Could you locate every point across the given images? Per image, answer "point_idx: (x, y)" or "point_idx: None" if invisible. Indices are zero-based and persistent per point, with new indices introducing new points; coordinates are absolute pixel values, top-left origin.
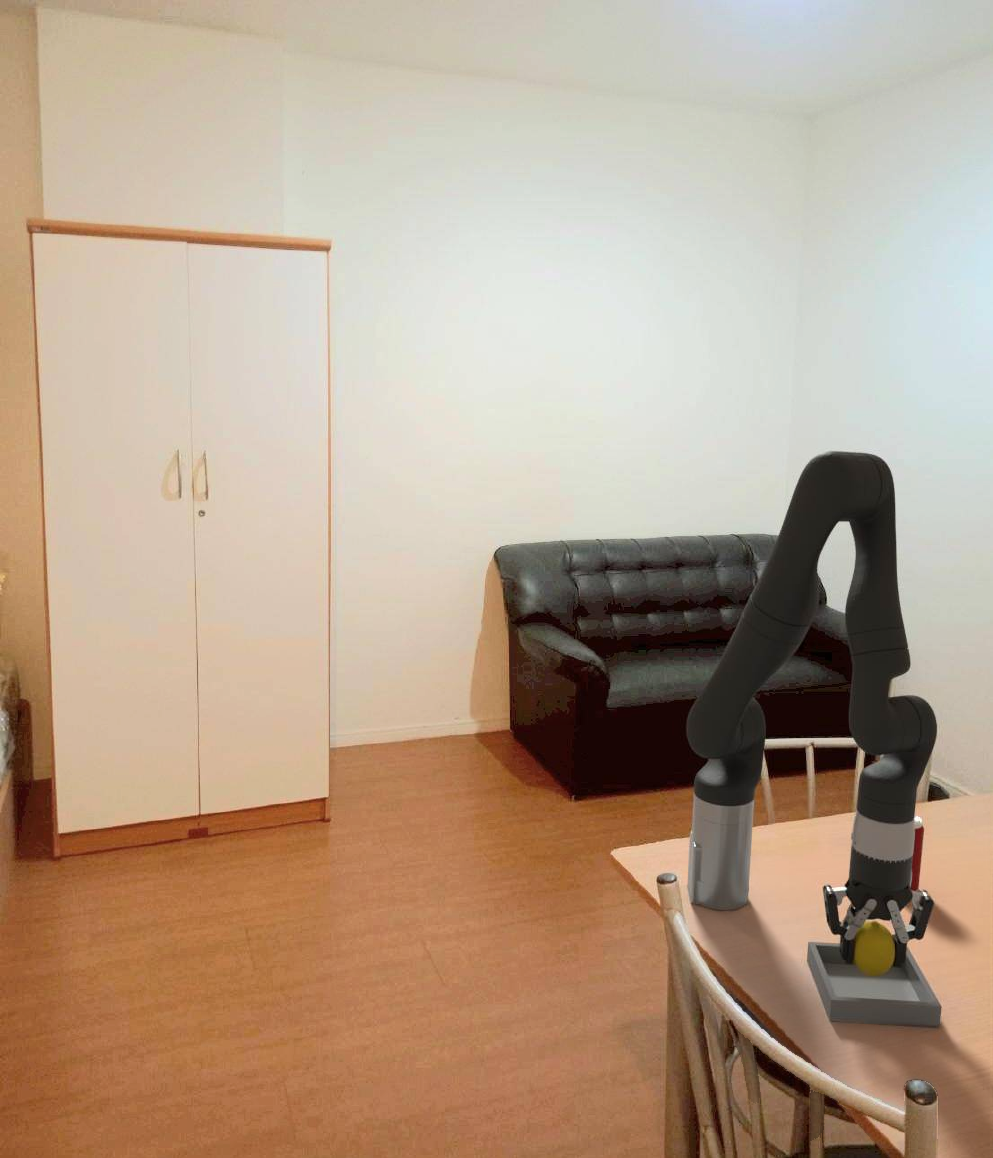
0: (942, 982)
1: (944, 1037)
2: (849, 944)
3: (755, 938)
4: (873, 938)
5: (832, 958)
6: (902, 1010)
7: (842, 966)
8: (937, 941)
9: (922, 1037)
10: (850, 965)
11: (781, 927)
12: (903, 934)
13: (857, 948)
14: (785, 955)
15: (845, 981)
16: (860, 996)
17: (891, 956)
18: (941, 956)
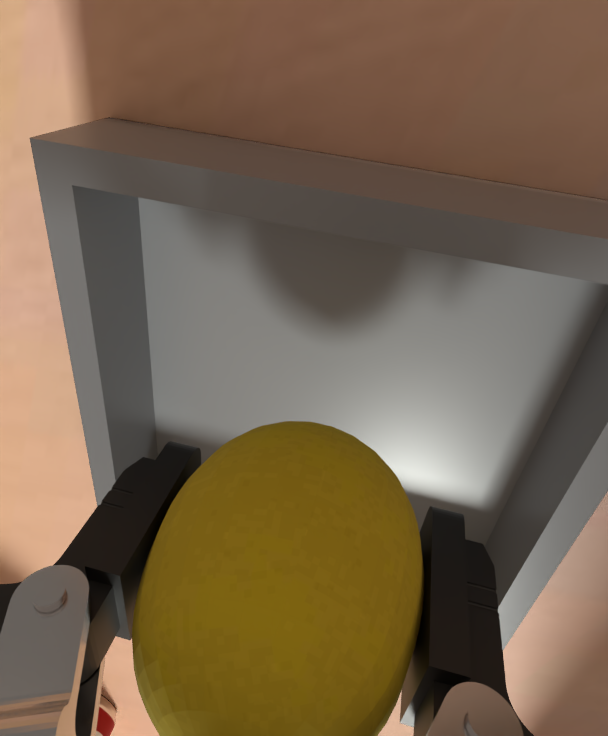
0: (44, 403)
1: (101, 30)
2: (469, 643)
3: (603, 691)
4: (295, 664)
5: None
6: (267, 165)
7: None
8: (31, 555)
9: (214, 31)
10: None
11: None
12: (34, 639)
13: (413, 599)
14: (553, 614)
15: (410, 461)
16: (396, 369)
17: (198, 494)
18: (29, 505)
